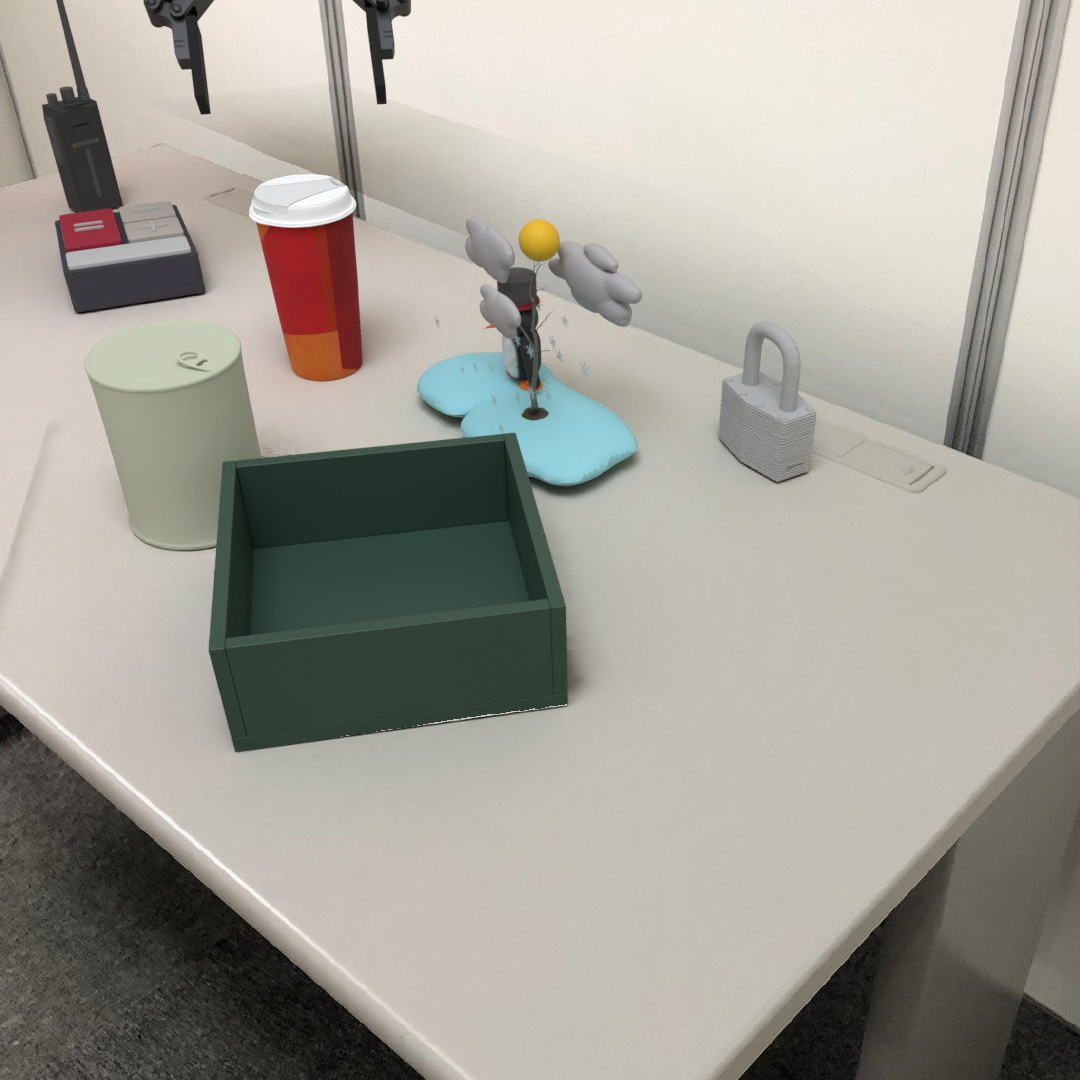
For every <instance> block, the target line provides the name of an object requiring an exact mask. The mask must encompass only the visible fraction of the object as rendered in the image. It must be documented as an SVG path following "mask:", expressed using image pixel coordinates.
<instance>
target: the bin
mask: <svg viewBox="0 0 1080 1080" xmlns="http://www.w3.org/2000/svg"><path fill="white" fill-rule="evenodd" d="M214 560H215V561H214V570H213V571H214V572H213V582H212V583H213V585H212V598H211V609H210V611H211V613H210V625H209V637H208V650H207V651H208V654H209V658H210V662H211V665H212V669H213V673H214V677H215V681H216V685H217V688H218V692H219V696H220V700H221V704H222V708H223V712H224V716H225V719H226V723H227V726H228V727H227V728H228V731H229V734H230V737H231V743H232V746H233V750H234V751H235V752H237V753H238V752H243V751H244V752H245V751H252V750H258V749H266V748H274V747H281V746H288V745H295V744H302V743H308V742H309V741H310V742H317V741H322V740H321V739H325V740H330V739H329V738H332V739H338V738H337V737H339V738H342V737H341V736H346V735H354V736H358V735H357V734H361V735H364V734H363V733H368V734H373V733H372V732H375V733H377V732H376V731H381V730H388V729H397V728H405V727H412V726H417V725H423V724H428V723H434V722H441V721H447V720H453V719H461V718H467V717H476V716H481V715H487V714H500V713H506V712H511V711H519V710H520V711H524V710H529V709H533V708H535V709H541V708H545V707H549V706H558V705H565V704H567V703H568V704H569V694H568V692H569V691H568V690H569V689H568V686H569V685H568V684H569V683H568V642H567V641H568V639H567V638H568V637H567V636H568V635H567V605H566V601H565V598H564V594H563V590H562V588H561V584H560V581H559V577H558V574H557V570H556V567H555V563H554V560H553V556H552V552H551V549H550V546H549V542H548V540H547V536H546V532H545V529H544V526H543V521H542V519H541V515H540V511H539V508H538V505H537V501H536V498H535V494H534V491H533V487H532V484H531V481H530V477H529V476H528V474H527V470H526V467H525V463H524V460H523V456H522V453H521V449H520V446H519V443H518V439H517V436H516V433H505V434H496V435H486V436H476V437H466V438H465V437H458V438H447V439H437V440H429V441H428V440H427V441H417V442H407V443H397V444H387V445H378V446H377V445H376V446H367V447H357V448H348V449H337V450H327V451H326V450H325V451H318V452H317V451H316V452H307V453H298V454H288V455H277V456H276V455H275V456H267V457H262V458H256V459H246V460H237V461H227V462H223V463H222V477H221V490H220V503H219V517H218V530H217V543H216V546H215V558H214ZM412 728H413V727H412ZM405 729H406V728H405ZM397 730H398V729H397ZM346 737H347V736H346ZM310 742H309V743H310Z"/></svg>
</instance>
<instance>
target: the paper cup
mask: <svg viewBox="0 0 1080 1080" xmlns="http://www.w3.org/2000/svg"><path fill="white" fill-rule="evenodd" d="M356 207H357V201H356V199H355V198H354V197H353V196H352V195H351V192H350V190H349V187H348V186H347V185H345V183H343V182H342V181H340V180H339V179H336V178H335V177H334V176H331V175H325V174H315V173H305V174H304V173H303V174H301V173H300V174H293V175H292V174H291V175H285V176H279V177H276V178H273V179H269V180H266V181H264V182H262V183H260V184H259V185H258V186H257V187H256V188H255V190H254V194H253V197H252V199H251V203H250V206H249V209H248V211H249V212H248V213H249V214H248V217H249V218H250V219H251V220H252V221H254V222H255V225H256V228H257V233H258V235H259V240H260V241H259V242H260V245H261V249H262V254H263V257H264V262H265V265H266V270H267V274H268V279H269V283H270V287H271V290H272V295H273V299H274V304H275V307H276V312H277V315H278V319H279V324H280V329H281V332H282V336H283V340H284V345H285V348H286V352H287V356H288V359H289V363H290V366H291V369H292V372H293V373H294V374H295V376H298V377H300V378H301V379H305V380H309V381H316V382H326V381H327V382H328V381H335V380H340V379H343V378H346V377H348V376H351V375H353V374H354V373H356V372H357V371H359V370H360V369H361V367H362V364H363V343H362V341H363V339H362V325H361V311H360V296H359V295H360V294H359V277H358V276H359V275H358V264H357V254H356V253H357V252H356V240H355V239H356V238H355V226H354V211H355V210H356Z"/></svg>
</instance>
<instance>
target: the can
mask: <svg viewBox="0 0 1080 1080" xmlns="http://www.w3.org/2000/svg"><path fill="white" fill-rule="evenodd" d="M83 365H84V371H85V373H86V375H87V377H88V380H89V383H90V386H91V389H92V392H93V395H94V399H95V402H96V405H97V408H98V412H99V415H100V418H101V421H102V425H103V428H104V431H105V435H106V439H107V441H108V442H107V443H108V445H109V449H110V452H111V456H112V459H113V462H114V465H115V469H116V473H117V477H118V480H119V484H120V488H121V491H122V494H123V498H124V501H125V505H126V510H127V515H128V517H127V519H128V525H129V527H130V530H131V531H132V533H133V534H134V535H135V536H136V537H137V538H138V539H139V540H141V541H142V542H144V543H146V544H148V545H151V546H152V547H156V548H160V549H165V550H171V551H196V550H199V551H200V550H205V549H210V548H216V543H217V530H218V517H219V503H220V490H221V477H222V463H223V462H227V461H237V460H246V459H256V458H263V457H262V453H261V448H260V442H259V438H258V433H257V427H256V424H255V423H256V422H255V417H254V413H253V409H252V403H251V397H250V392H249V387H248V382H247V375H246V371H245V365H244V359H243V352H242V343H241V341H240V338H239V337H238V336H237V334H236V333H235V332H234V331H232V330H231V329H229V328H228V327H225V326H224V325H221V324H218V323H215V322H209V321H205V320H197V319H169V320H167V319H166V320H161V321H160V320H158V321H152V322H146V323H142V324H138V325H135V326H132V327H128V328H124V329H123V330H120V331H116V332H115V333H112V334H110V335H108V336H107V337H105V338H103V339H102V340H100V341H99V342H97V343H96V344H95V345H94V346H93V347H92V348H91V349H90V350H89V351H88V352H87V354H86V355H85V358H84V364H83Z"/></svg>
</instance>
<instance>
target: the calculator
mask: <svg viewBox="0 0 1080 1080" xmlns="http://www.w3.org/2000/svg"><path fill="white" fill-rule="evenodd" d="M54 227H55V232H56V238H57V243H58V244H57V245H58V250H59V254H60V260H61V267H62V271H63V275H64V280H65V283H66V287H67V289H68V292H69V293H68V294H69V296H70V297H69V298H70V300H71V304H72V308H73V310H74V312H77V313H83V312H89V311H95V310H101V309H108V308H115V307H121V306H128V305H133V304H134V305H135V304H139V303H147V302H152V301H159V300H160V301H161V300H166V299H172V298H178V297H185V296H191V295H197V294H202V293H205V292H206V285H205V281H204V276H203V272H202V267H201V263H200V257H199V253H198V251H197V248H196V246H195V244H194V242H193V240H192V237H191V235H190V233H189V230H188V228H187V226H186V224H185V221H184V219H183V217H182V215H181V212H180V210H179V208H178V206H177V205H176V204H172V202H171V201H170V200H162V201H156V202H155V201H153V202H148V203H147V202H146V203H140V204H132V205H125V206H122V207H119V208H118V211H115V212H114V209H113V210H112V209H101V210H94V211H86V212H79V213H77V212H72V213H65V214H60V215H59V216H58V219H57V220H55V222H54Z"/></svg>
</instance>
